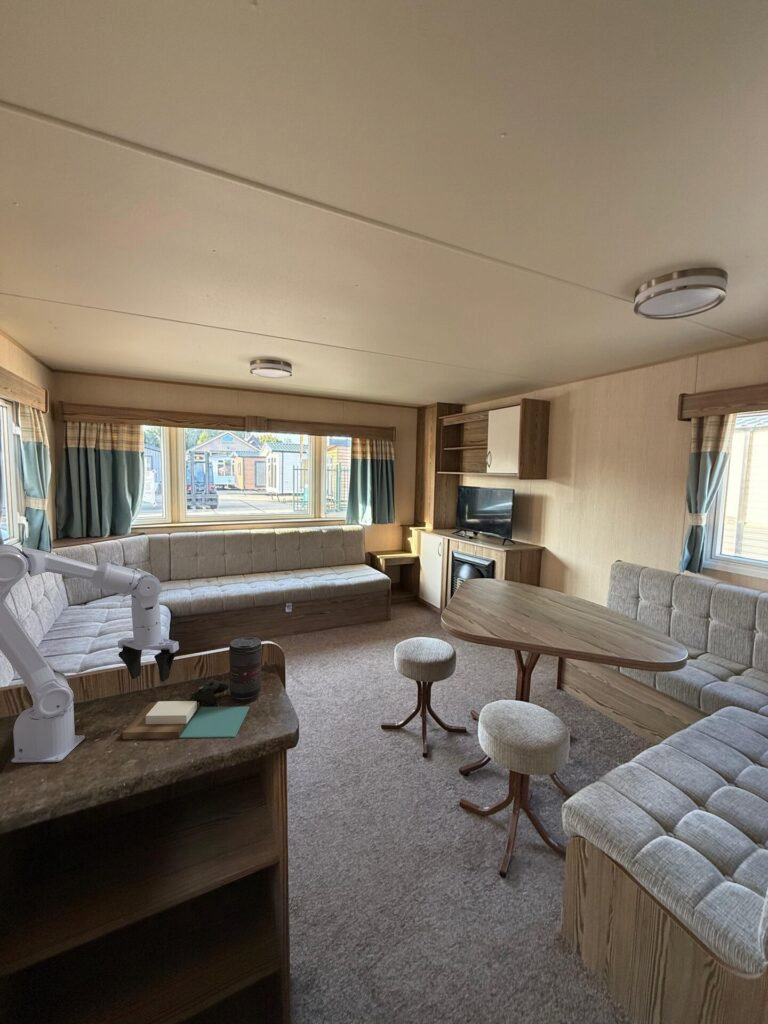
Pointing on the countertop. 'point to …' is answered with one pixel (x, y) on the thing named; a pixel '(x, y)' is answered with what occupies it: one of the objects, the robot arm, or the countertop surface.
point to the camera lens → (245, 669)
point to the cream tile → (171, 712)
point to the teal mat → (215, 722)
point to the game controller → (209, 692)
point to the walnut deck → (153, 727)
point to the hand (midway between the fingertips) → (150, 678)
